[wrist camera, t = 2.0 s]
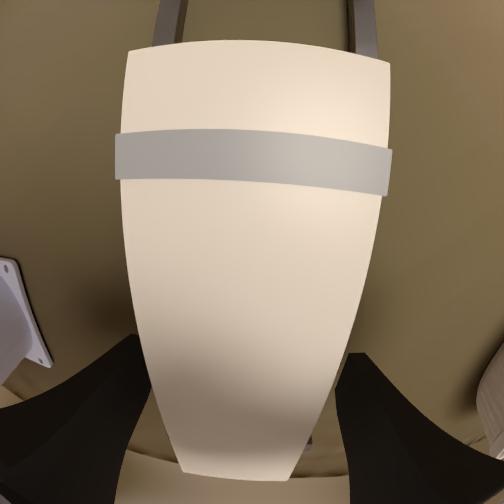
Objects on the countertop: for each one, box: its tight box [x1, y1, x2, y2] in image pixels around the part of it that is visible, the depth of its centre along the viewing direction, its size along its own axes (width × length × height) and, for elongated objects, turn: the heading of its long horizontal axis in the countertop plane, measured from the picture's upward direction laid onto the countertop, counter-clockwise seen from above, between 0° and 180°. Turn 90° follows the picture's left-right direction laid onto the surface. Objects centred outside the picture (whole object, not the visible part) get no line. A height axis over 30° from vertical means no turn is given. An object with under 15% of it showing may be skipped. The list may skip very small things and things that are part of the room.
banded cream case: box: [115, 40, 392, 481], centre depth 8 cm, size 5×14×5 cm, turn 177°
